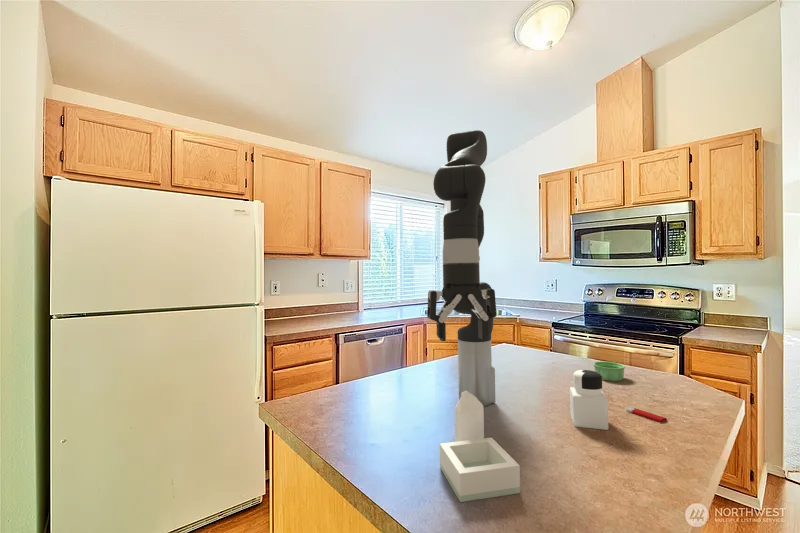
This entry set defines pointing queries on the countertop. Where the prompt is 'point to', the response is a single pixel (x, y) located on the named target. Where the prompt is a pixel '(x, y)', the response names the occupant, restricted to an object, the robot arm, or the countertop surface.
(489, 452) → the socket
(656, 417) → the lighter
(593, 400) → the medicine bottle
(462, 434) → the roll
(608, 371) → the ramekin
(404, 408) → the countertop surface
